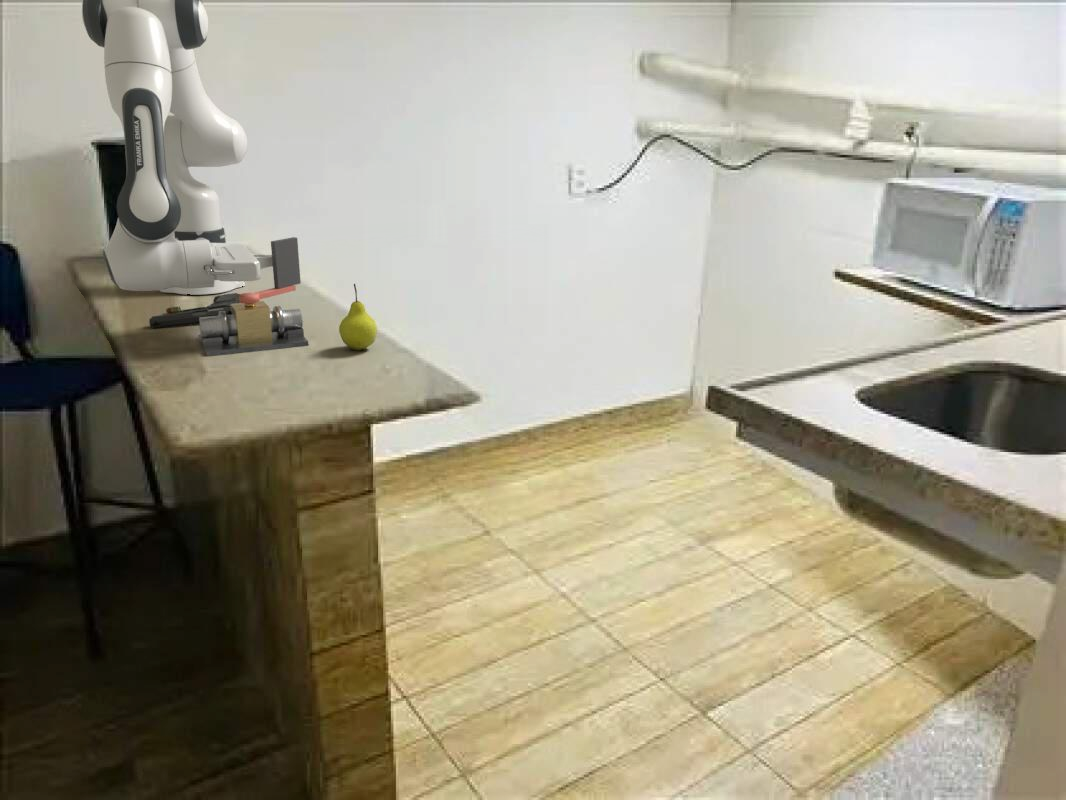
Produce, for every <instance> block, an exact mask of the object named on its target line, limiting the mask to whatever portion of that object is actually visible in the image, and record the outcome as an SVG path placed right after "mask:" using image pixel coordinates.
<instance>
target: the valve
mask: <svg viewBox="0 0 1066 800" xmlns="http://www.w3.org/2000/svg"><path fill="white" fill-rule="evenodd" d="M231 311H232V315H226V312H225V311H219V312H218V316H211V317H200V318H199V324H198V325H199V330H200V332H199V334H198V339H199V341H200V343H201V346H202V348H203V351H204V352H205V355H206V354H207V355H206V357H210V356H211V357H212V355H213V356H219V355H220V356H221V355H229V354H230V355H232V354H239V353H240V354H241V353H249V352H250V353H251V352H259V351H267V350H268V351H269V350H276V349H277V350H278V349H285V348H286V349H287V348H294V347H296V348H297V347H304V346H305V347H306V346H309V339H307V338H306V337H305V335H304V328H303V316H302V312H301V309H300V308H291V309H282V307H281V306H280V305H277V306H273V309H272V310H270V307H269V306H268V305H267V303H266V302H265V301H264V300H263V301H262V300H260V301H259V302H257V303H248V304H246V303H235V304H231Z"/></svg>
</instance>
